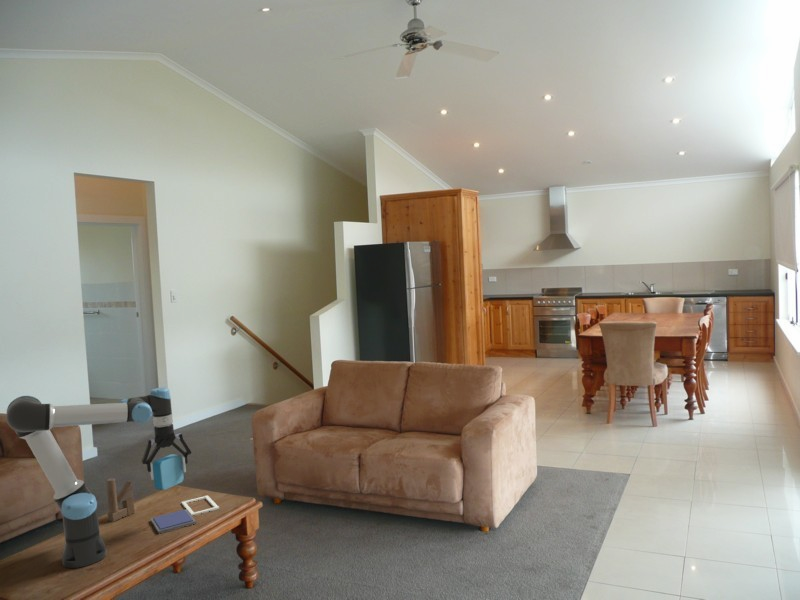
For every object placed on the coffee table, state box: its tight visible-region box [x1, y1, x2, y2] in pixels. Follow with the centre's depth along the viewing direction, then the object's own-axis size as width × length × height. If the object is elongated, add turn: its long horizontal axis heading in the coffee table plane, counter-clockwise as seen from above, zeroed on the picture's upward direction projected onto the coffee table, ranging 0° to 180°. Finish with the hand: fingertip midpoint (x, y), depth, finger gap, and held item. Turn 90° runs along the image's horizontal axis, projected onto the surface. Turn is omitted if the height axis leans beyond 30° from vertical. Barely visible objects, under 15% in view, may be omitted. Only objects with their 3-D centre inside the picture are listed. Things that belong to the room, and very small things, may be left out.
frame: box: [180, 495, 220, 517], centre depth 288 cm, size 12×19×1 cm, turn 31°
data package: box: [152, 453, 184, 491], centre depth 269 cm, size 12×4×12 cm, turn 155°
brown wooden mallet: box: [105, 477, 136, 522], centre depth 281 cm, size 4×11×18 cm, turn 147°
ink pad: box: [150, 508, 197, 535], centre depth 271 cm, size 15×17×2 cm
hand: (168, 475), depth 270 cm, fingers closed on data package, 12 cm apart
